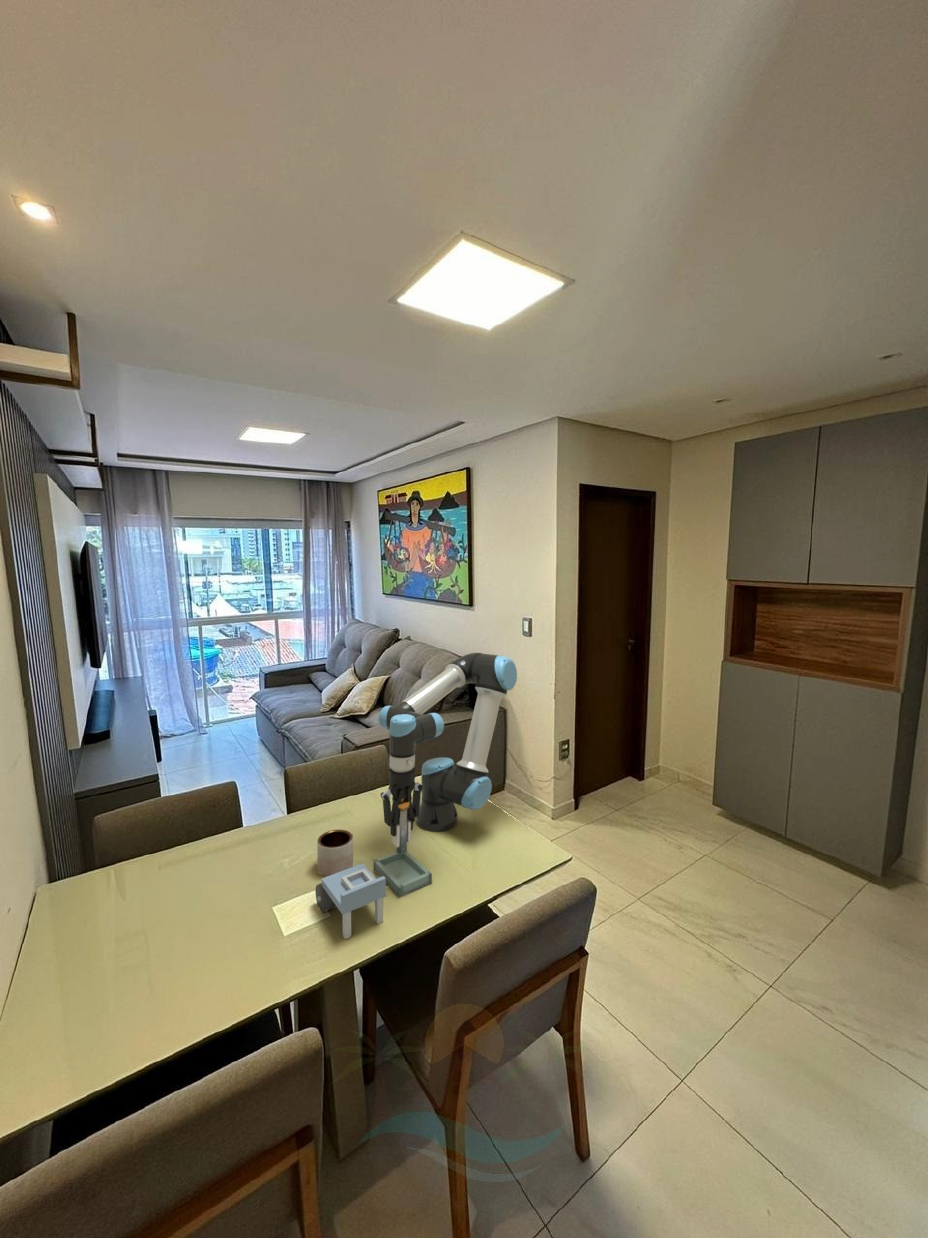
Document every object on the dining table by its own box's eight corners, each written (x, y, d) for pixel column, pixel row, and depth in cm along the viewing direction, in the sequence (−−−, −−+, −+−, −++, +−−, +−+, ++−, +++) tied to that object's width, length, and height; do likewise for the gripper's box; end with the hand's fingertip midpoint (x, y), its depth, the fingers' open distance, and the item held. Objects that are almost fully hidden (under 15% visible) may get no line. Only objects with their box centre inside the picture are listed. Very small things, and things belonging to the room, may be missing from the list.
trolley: (313, 904, 136) (313, 863, 135) (360, 885, 145) (360, 846, 143) (339, 942, 122) (338, 897, 121) (389, 919, 131) (389, 877, 130)
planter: (358, 858, 158) (357, 830, 157) (346, 879, 147) (346, 849, 146) (325, 856, 159) (324, 828, 158) (311, 877, 148) (311, 847, 147)
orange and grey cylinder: (391, 849, 149) (391, 800, 147) (404, 844, 151) (404, 796, 150) (398, 857, 145) (399, 806, 143) (412, 851, 148) (412, 802, 146)
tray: (373, 869, 152) (373, 860, 152) (404, 857, 159) (404, 848, 158) (399, 897, 139) (399, 887, 139) (431, 883, 146) (431, 873, 146)
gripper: (383, 778, 138) (383, 858, 140) (432, 765, 148) (431, 840, 150) (371, 769, 144) (371, 846, 146) (418, 757, 153) (418, 829, 156)
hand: (401, 842), depth 148 cm, fingers closed on orange and grey cylinder, 3 cm apart
